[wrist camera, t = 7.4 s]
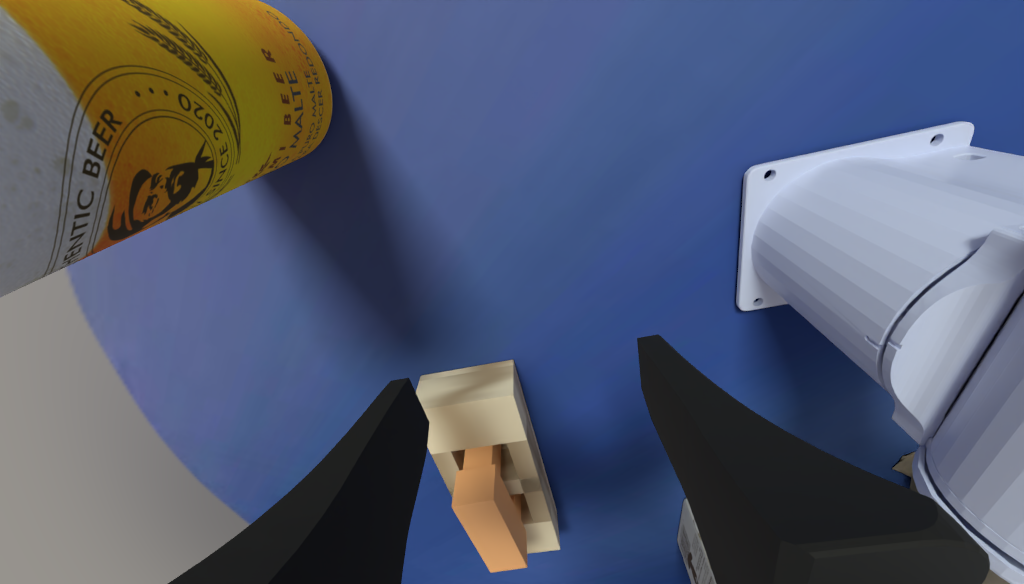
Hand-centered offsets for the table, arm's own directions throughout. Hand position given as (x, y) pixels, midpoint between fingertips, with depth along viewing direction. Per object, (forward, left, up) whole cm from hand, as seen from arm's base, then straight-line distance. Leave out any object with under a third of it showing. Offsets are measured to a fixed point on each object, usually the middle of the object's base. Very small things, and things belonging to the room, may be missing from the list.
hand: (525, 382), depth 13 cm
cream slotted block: (+5, +15, -10) cm, 19 cm away
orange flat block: (+5, +15, -9) cm, 18 cm away
